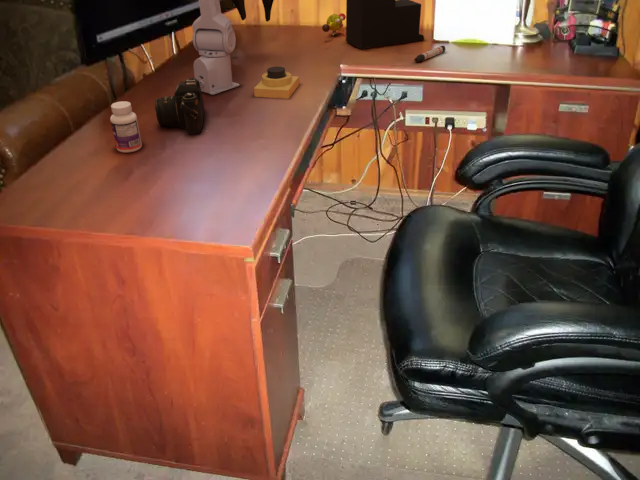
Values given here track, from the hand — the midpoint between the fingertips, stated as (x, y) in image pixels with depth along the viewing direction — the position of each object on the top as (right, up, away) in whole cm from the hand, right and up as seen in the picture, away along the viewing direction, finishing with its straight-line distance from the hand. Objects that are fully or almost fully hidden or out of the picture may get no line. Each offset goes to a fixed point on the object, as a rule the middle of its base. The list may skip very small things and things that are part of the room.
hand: (256, 19), depth 183 cm
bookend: (+40, -1, +17) cm, 43 cm away
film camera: (-12, -38, -40) cm, 57 cm away
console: (+8, -26, -21) cm, 35 cm away
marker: (+51, -11, +1) cm, 53 cm away
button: (+8, -23, -23) cm, 34 cm away
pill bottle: (-22, -46, -51) cm, 72 cm away
